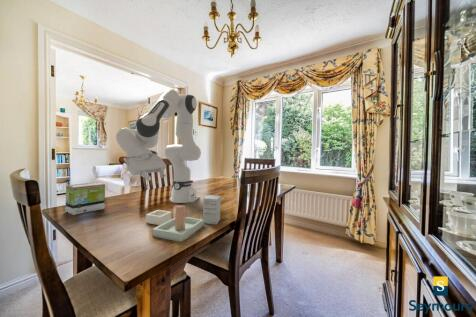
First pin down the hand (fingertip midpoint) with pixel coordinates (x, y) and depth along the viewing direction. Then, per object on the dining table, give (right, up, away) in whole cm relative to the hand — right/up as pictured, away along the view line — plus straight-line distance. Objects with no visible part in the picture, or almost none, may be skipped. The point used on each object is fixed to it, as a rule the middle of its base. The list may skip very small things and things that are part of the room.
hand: (157, 178), depth 92 cm
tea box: (-47, -20, +19) cm, 55 cm away
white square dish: (-2, -22, +7) cm, 23 cm away
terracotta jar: (+12, -22, -4) cm, 25 cm away
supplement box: (+24, -23, +9) cm, 34 cm away
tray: (+12, -23, -4) cm, 26 cm away
